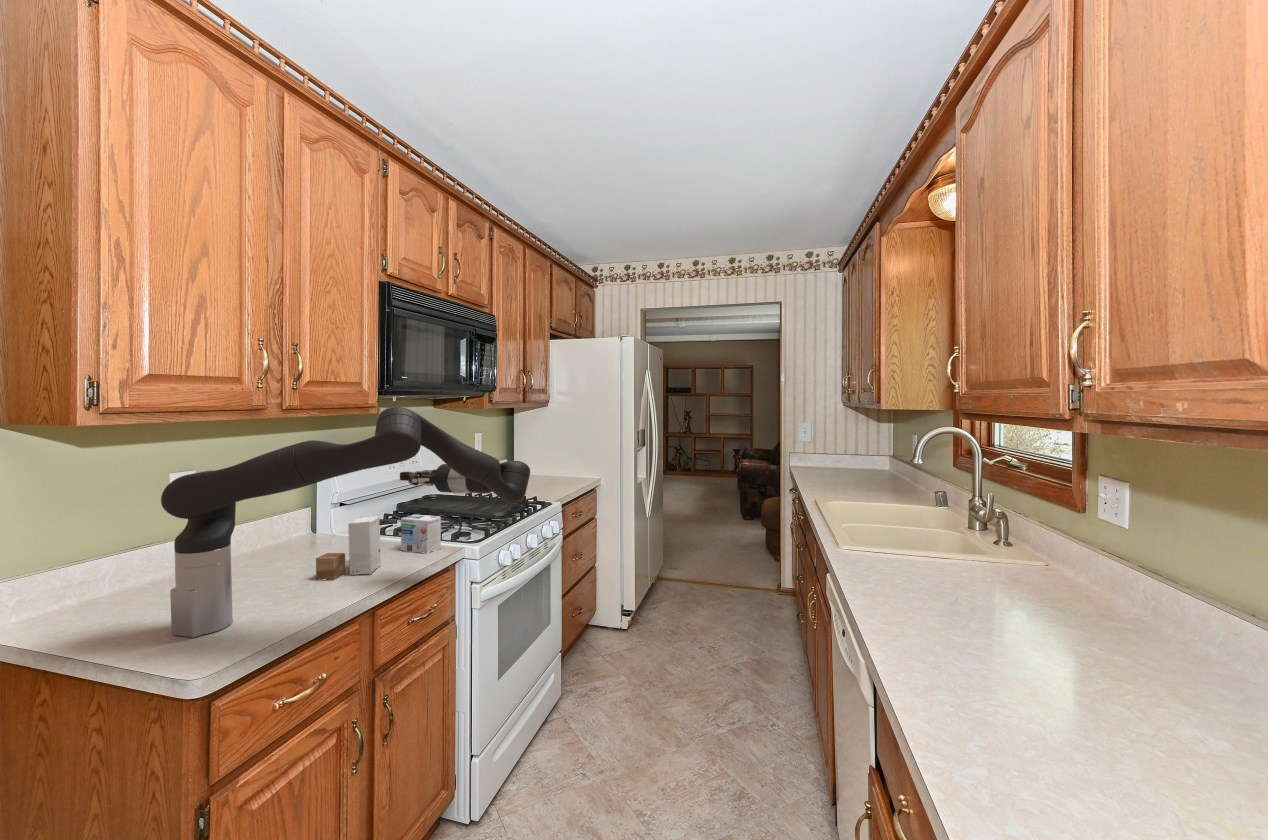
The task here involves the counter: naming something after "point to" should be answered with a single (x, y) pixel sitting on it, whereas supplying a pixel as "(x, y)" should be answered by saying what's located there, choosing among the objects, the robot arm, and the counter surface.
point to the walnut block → (330, 566)
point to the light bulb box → (420, 533)
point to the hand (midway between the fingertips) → (401, 475)
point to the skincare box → (364, 545)
